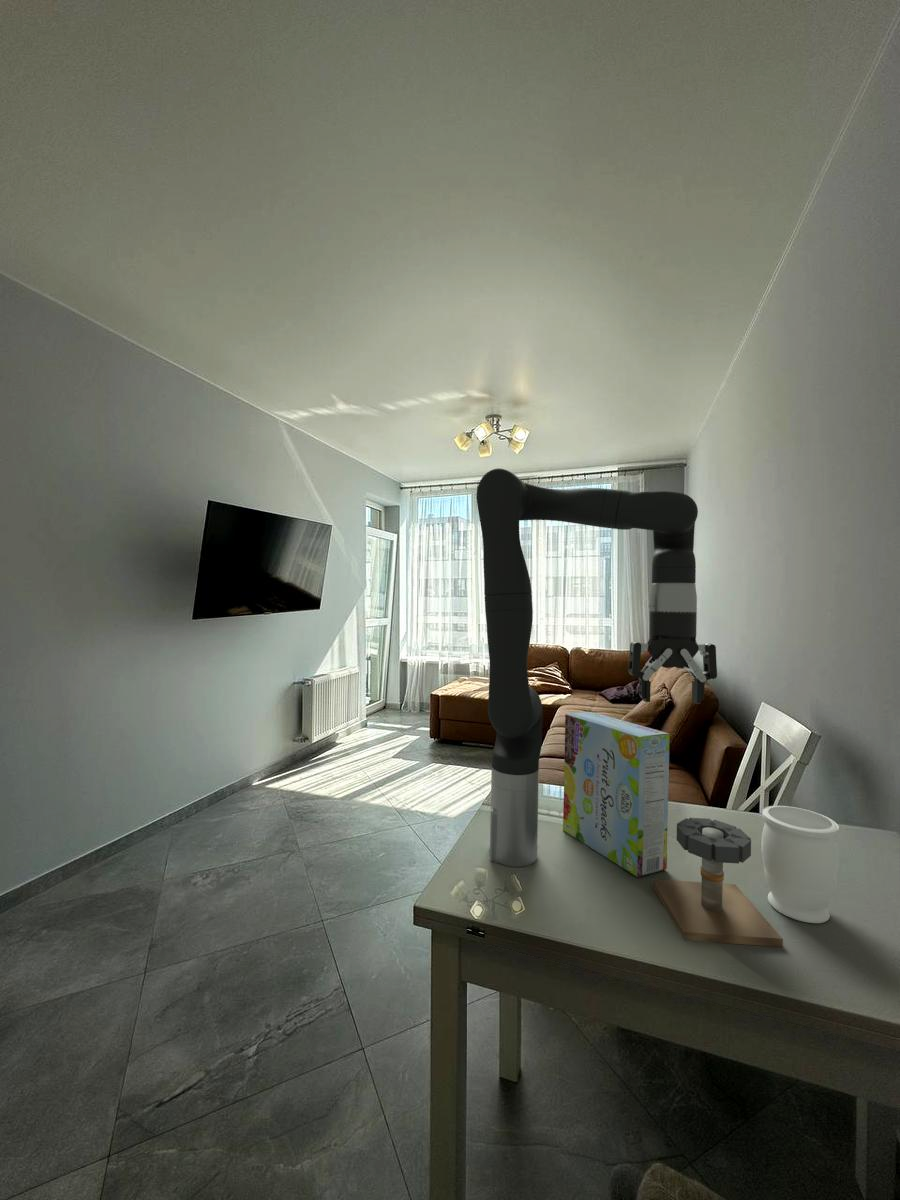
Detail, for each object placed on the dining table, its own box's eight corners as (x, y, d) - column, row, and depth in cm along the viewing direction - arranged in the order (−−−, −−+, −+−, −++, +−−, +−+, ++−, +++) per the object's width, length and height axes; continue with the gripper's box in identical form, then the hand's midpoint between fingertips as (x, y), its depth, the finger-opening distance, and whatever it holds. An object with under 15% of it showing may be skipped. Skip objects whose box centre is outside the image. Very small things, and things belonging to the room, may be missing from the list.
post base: (683, 940, 73) (685, 850, 73) (652, 886, 87) (653, 811, 87) (782, 947, 72) (784, 856, 72) (735, 891, 86) (736, 815, 86)
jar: (811, 936, 75) (812, 836, 75) (746, 898, 84) (747, 810, 84) (852, 919, 79) (854, 825, 79) (786, 884, 88) (787, 801, 88)
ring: (693, 861, 75) (693, 845, 75) (669, 830, 85) (669, 816, 85) (762, 864, 74) (762, 848, 74) (729, 833, 84) (730, 819, 84)
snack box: (671, 870, 93) (673, 732, 93) (637, 881, 89) (639, 737, 89) (590, 822, 112) (592, 709, 112) (560, 829, 108) (562, 712, 108)
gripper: (637, 609, 83) (636, 705, 83) (725, 610, 82) (723, 708, 82) (625, 608, 91) (623, 696, 91) (705, 610, 90) (704, 699, 90)
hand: (671, 702), depth 87 cm, fingers open, 8 cm apart
